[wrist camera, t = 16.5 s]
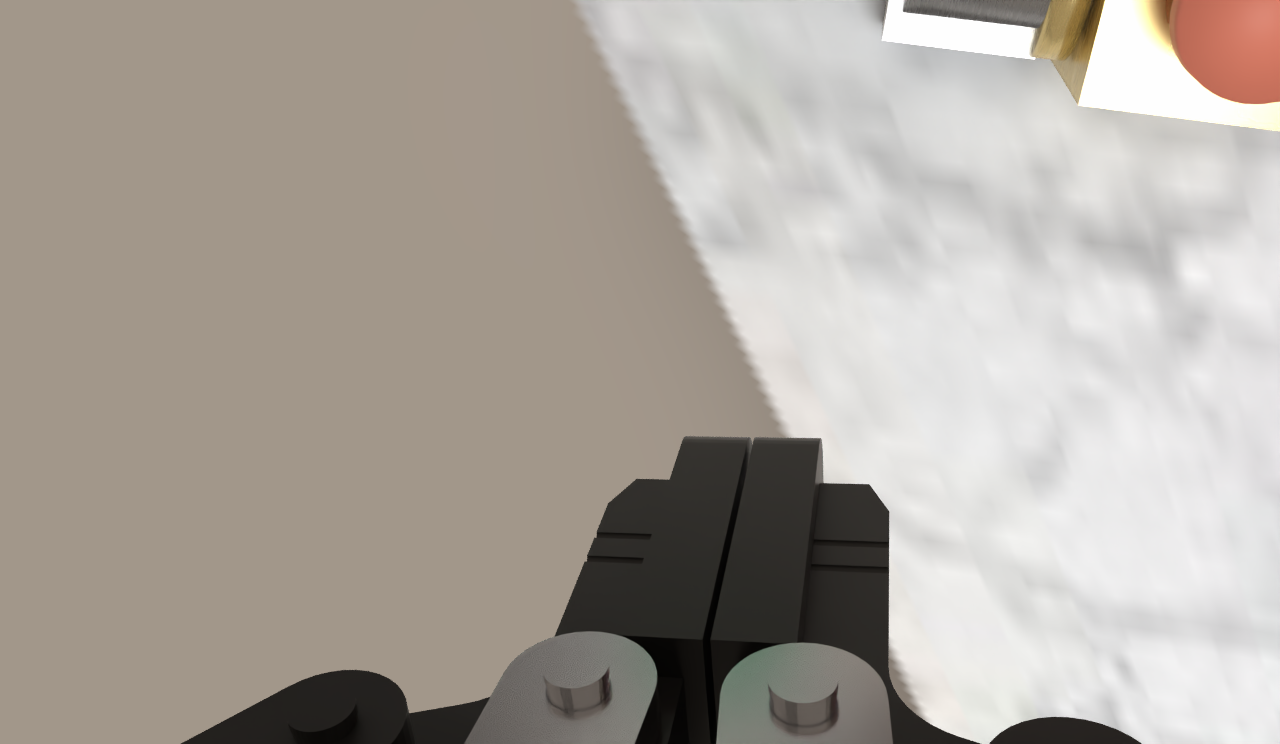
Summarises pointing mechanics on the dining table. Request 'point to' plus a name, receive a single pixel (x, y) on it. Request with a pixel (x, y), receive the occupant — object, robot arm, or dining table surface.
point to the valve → (1080, 51)
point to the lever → (1230, 46)
